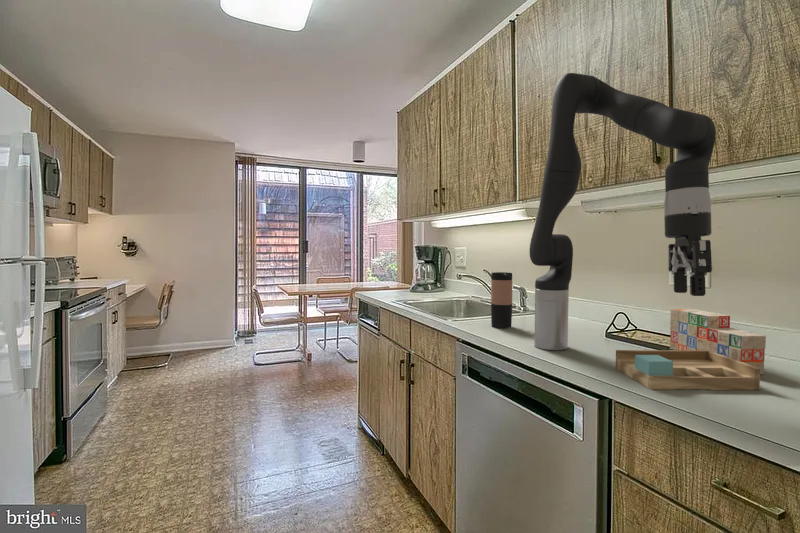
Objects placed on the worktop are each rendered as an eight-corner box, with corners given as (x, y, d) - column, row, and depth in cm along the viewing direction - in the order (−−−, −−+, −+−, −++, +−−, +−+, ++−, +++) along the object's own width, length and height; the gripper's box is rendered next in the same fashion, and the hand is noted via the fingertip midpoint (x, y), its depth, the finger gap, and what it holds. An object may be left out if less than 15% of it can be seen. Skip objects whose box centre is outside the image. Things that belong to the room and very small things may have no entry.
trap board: (615, 368, 95) (615, 350, 95) (707, 368, 94) (708, 350, 94) (650, 389, 81) (651, 368, 81) (759, 390, 80) (760, 368, 80)
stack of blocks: (765, 375, 90) (767, 322, 89) (739, 376, 89) (741, 322, 89) (689, 350, 111) (691, 307, 110) (668, 351, 111) (670, 308, 110)
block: (634, 368, 87) (635, 354, 87) (657, 368, 87) (658, 354, 87) (648, 375, 82) (648, 361, 82) (672, 375, 82) (673, 361, 82)
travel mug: (493, 323, 150) (493, 272, 149) (513, 325, 146) (514, 272, 145) (488, 327, 143) (489, 273, 142) (509, 329, 139) (510, 273, 138)
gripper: (654, 218, 86) (655, 292, 86) (678, 209, 72) (680, 296, 72) (694, 216, 83) (695, 292, 83) (727, 206, 70) (729, 297, 70)
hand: (688, 294), depth 78 cm, fingers open, 8 cm apart
